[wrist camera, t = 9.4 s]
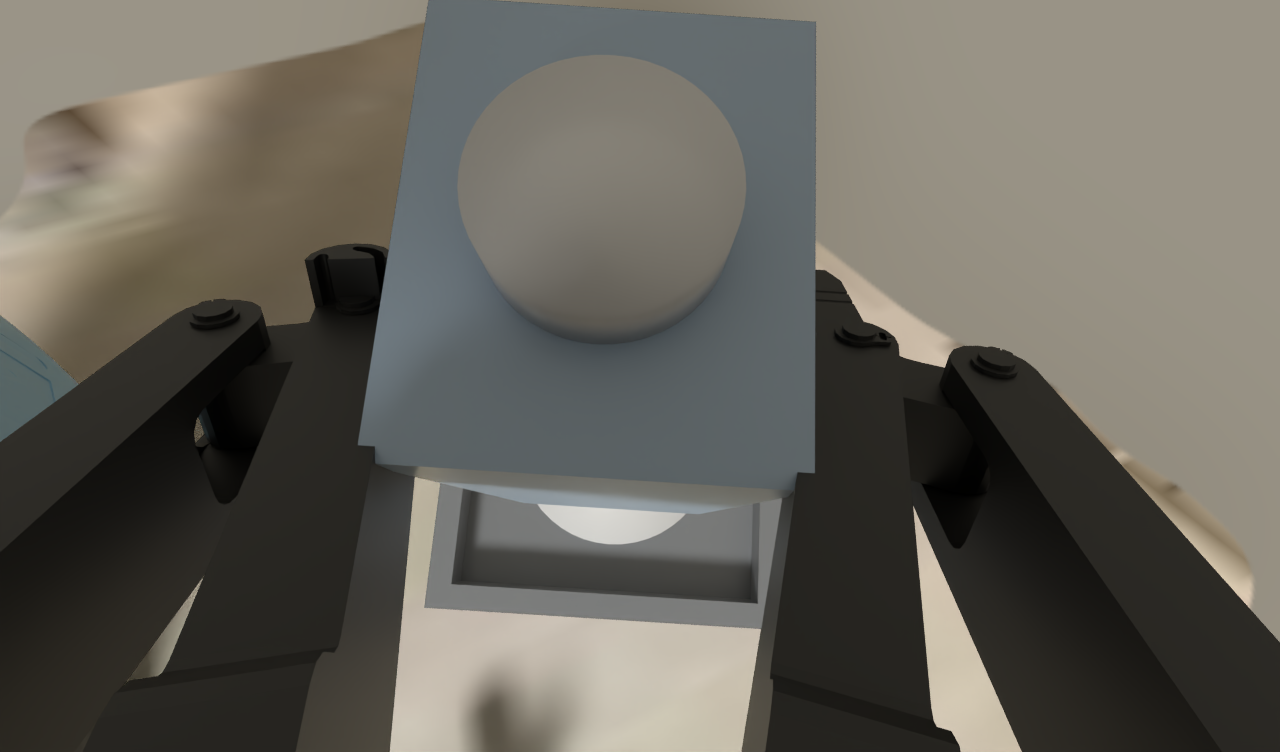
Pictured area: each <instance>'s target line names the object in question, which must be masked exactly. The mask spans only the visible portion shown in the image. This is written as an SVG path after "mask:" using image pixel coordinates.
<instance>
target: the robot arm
mask: <svg viewBox="0 0 1280 752" xmlns="http://www.w3.org/2000/svg"><path fill="white" fill-rule="evenodd" d="M388 252H389V250H387V249H386V248H384V247H380V246H376V245H371V244H346V245H337V246H333V247H329V248H324V249H321V250H319V251H317V252H314V253H312V254H311V255H310V256H309V257H307V258H306V259H305V263H306V268H307V272H308V276H309V281H310V285H311V290H312V294H313V299H314V303H315V310H314V312H313V314H312V317H311V319H310V322H307V323H300V324H290V325H278V326H267V327H266V324H265V320H264V317H263V313H262V310H261V307H260V306H258V305H256V304H254V303H252V302H247V301H241V300H225V299H216V300H213V302H211V300H209V301H205V302H201V303H199V305H196V306H193V307H190V308H186V309H184V310H183V311H181V312H179V313H177V314H175V315H173V316H172V317H170V318H169V319H168V320H166V321H165V322H164V323H162V324H161V325H159V326H158V327H157V328H155V329H154V330H153V331H151V332H150V333H149V334H147V335H146V336H144V337H143V338H142V339H140V340H139V341H138V342H136V343H135V344H133V345H132V346H131V347H129V348H128V349H127V350H125V351H124V352H123V353H121V354H120V355H118V356H117V357H116V358H114V359H113V360H112V361H110V362H109V363H107V364H106V365H105V366H103V367H102V368H101V369H99V370H98V371H97V372H95V373H94V374H92V375H91V376H90V377H88V378H87V379H86V380H84V381H83V382H81V383H80V384H78V383H77V382H76V381H75V380H74V379H73V378H72V377H71V376H70V375H69V374H68V373H67V372H66V371H65V370H64V369H63V368H61V367H60V366H59V365H58V364H57V363H56V362H55V361H54V360H53V359H52V358H51V357H50V356H49V355H48V354H46V353H45V352H44V351H43V350H42V349H41V348H40V347H39V346H37V345H36V344H35V343H34V342H33V341H32V340H30V339H29V338H28V337H27V336H26V335H24V334H23V333H22V332H21V331H19V330H18V329H17V328H16V327H15V326H13V325H12V324H11V323H10V322H8V321H7V320H6V319H4V318H3V317H2V316H1V315H0V752H390V741H391V730H392V719H393V708H394V697H395V686H396V675H397V665H398V654H399V643H400V632H401V621H402V610H403V599H404V588H405V577H406V566H407V555H408V544H409V533H410V522H411V511H412V500H413V489H414V478H415V477H414V476H409V475H405V474H401V473H397V472H393V471H391V470H388V469H386V468H384V467H382V466H379V465H377V464H375V446H363V445H358V440H359V433H360V427H361V421H362V415H363V408H364V402H365V396H366V390H367V383H368V377H369V371H370V364H371V358H372V352H373V346H374V339H375V333H376V327H377V321H378V314H379V308H380V302H381V295H382V289H383V283H384V277H385V270H386V264H387V258H388ZM198 417H199V420H200V423H201V425H202V428H203V431H204V433H205V434H204V435H203V436H202V437H201V438H200V439H199V440H198V441H197V442H196V443H195V438H194V429H195V425H196V420H197V418H198ZM913 506H914V508H915V510H916V512H917V515H918V517H919V519H920V522H921V524H922V526H923V528H924V531H925V533H926V535H927V537H928V540H929V542H930V544H931V547H932V549H933V551H934V553H935V556H936V558H937V560H938V562H939V565H940V567H941V569H942V571H943V574H944V576H945V578H946V581H947V583H948V585H949V587H950V590H951V592H952V594H953V596H954V599H955V601H956V603H957V606H958V608H959V610H960V612H961V615H962V617H963V619H964V621H965V624H966V626H967V628H968V630H969V633H970V635H971V637H972V640H973V642H974V644H975V646H976V649H977V651H978V653H979V655H980V658H981V660H982V662H983V665H984V667H985V669H986V671H987V674H988V676H989V678H990V680H991V683H992V685H993V687H994V689H995V692H996V694H997V696H998V699H999V701H1000V703H1001V705H1002V708H1003V710H1004V712H1005V714H1006V717H1007V719H1008V721H1009V724H1010V726H1011V728H1012V730H1013V733H1014V735H1015V737H1016V739H1017V742H1018V744H1019V746H1020V748H1021V751H1022V752H1280V642H1279V641H1278V640H1277V639H1276V638H1275V637H1274V635H1273V634H1272V633H1271V632H1270V631H1269V630H1268V629H1267V628H1266V626H1264V624H1263V623H1262V622H1261V621H1260V620H1259V619H1258V618H1257V616H1256V615H1255V614H1254V613H1253V612H1252V611H1251V610H1250V609H1249V607H1248V606H1247V605H1246V604H1245V603H1244V602H1243V601H1242V600H1241V598H1240V597H1239V596H1238V595H1237V594H1236V593H1235V592H1234V591H1233V590H1232V588H1231V587H1230V586H1229V585H1228V584H1227V583H1226V582H1225V581H1224V579H1223V578H1222V577H1221V576H1220V575H1219V574H1218V573H1217V572H1216V570H1215V569H1214V568H1213V567H1212V566H1211V565H1210V564H1209V563H1208V562H1207V560H1206V559H1205V558H1204V557H1203V556H1202V555H1201V554H1200V553H1199V551H1198V550H1197V549H1196V548H1195V547H1194V546H1193V545H1192V544H1191V543H1190V541H1189V540H1188V539H1187V538H1186V537H1185V536H1184V535H1183V534H1182V532H1181V531H1180V530H1179V529H1178V528H1177V527H1176V526H1175V525H1174V523H1173V522H1172V521H1171V520H1170V519H1169V518H1168V517H1167V516H1166V515H1165V513H1164V512H1163V511H1162V510H1161V509H1160V508H1159V507H1158V506H1157V504H1156V503H1155V502H1154V501H1153V500H1152V499H1151V498H1150V497H1149V495H1148V494H1147V493H1146V492H1145V491H1144V490H1143V489H1142V488H1141V487H1140V485H1139V484H1138V483H1137V482H1136V481H1135V480H1134V479H1133V478H1132V476H1131V475H1130V474H1129V473H1128V472H1127V471H1126V470H1125V469H1124V468H1123V466H1122V465H1121V464H1120V463H1119V462H1118V461H1117V460H1116V459H1115V457H1114V456H1113V455H1112V454H1111V453H1110V452H1109V451H1108V450H1107V448H1106V447H1105V446H1104V445H1103V444H1102V443H1101V442H1100V441H1099V440H1098V438H1097V437H1096V436H1095V435H1094V434H1093V433H1092V432H1091V431H1090V429H1089V428H1088V427H1087V426H1086V425H1085V424H1084V423H1083V422H1082V420H1081V419H1080V418H1079V417H1078V416H1077V415H1076V414H1075V413H1074V412H1073V410H1072V409H1071V408H1070V407H1069V406H1068V405H1067V404H1066V403H1065V401H1064V400H1063V399H1062V398H1061V397H1060V396H1059V395H1058V394H1057V393H1056V391H1055V390H1054V389H1053V388H1052V387H1051V386H1050V385H1049V384H1048V382H1047V381H1046V380H1045V379H1044V378H1043V377H1042V376H1041V375H1040V373H1039V372H1038V371H1037V370H1036V369H1035V368H1033V367H1032V366H1031V365H1030V364H1028V363H1027V362H1026V361H1024V360H1023V359H1020V358H1018V357H1016V356H1014V355H1013V354H1012V353H1011V352H1008V351H1006V350H1002V351H1001V350H1000V348H995V347H982V346H962V347H959V348H956V349H954V350H953V351H952V352H951V354H950V355H949V358H948V361H947V364H946V366H945V368H943V367H939V366H934V365H930V364H925V363H921V362H917V361H913V360H909V359H906V358H903V357H901V356H899V345H898V343H897V341H896V339H895V337H894V336H893V335H891V334H890V333H889V332H887V331H886V330H884V329H882V328H880V327H878V326H875V325H873V324H870V323H866V322H863V320H862V318H861V316H860V315H859V313H858V311H857V309H856V307H855V306H854V304H852V300H851V298H850V297H849V295H848V294H847V291H846V289H845V288H844V286H843V284H842V282H841V281H840V280H839V279H837V278H836V277H834V276H833V275H831V274H830V273H829V272H827V271H826V270H815V473H803V472H798V473H797V478H796V483H795V488H794V491H793V492H792V493H791V494H790V495H789V496H788V497H786V498H782V503H781V509H780V515H779V521H778V527H777V534H776V540H775V546H774V552H773V559H772V565H771V571H770V577H769V584H768V590H767V596H766V602H765V608H764V615H763V621H762V627H761V633H760V640H759V646H758V652H757V658H756V665H755V671H754V677H753V683H752V690H751V696H750V702H749V708H748V714H747V721H746V727H745V733H744V739H743V746H742V752H960V747H959V744H958V742H957V741H956V739H955V737H954V735H953V733H952V731H949V730H945V729H942V728H938V727H936V725H935V723H934V721H933V715H932V709H931V700H930V689H929V678H928V667H927V656H926V645H925V634H924V623H923V612H922V600H921V589H920V578H919V567H918V556H917V545H916V534H915V523H914V512H913ZM203 576H204V578H203ZM202 578H203V580H202V583H201V585H200V587H199V590H198V592H197V595H196V597H195V599H194V602H193V604H192V607H191V609H190V612H189V614H188V616H187V619H186V621H185V624H184V626H183V628H182V631H181V633H180V636H179V638H178V641H177V643H176V645H175V648H174V650H173V653H172V655H171V657H170V660H169V662H168V663H167V665H166V667H165V669H164V671H163V672H162V673H161V674H160V675H159V676H157V677H150V678H144V679H137V680H130V681H129V682H128V683H126V684H125V682H126V681H127V680H128V678H129V677H130V676H131V674H132V673H133V671H134V670H135V669H136V667H137V666H138V665H139V663H140V662H141V661H142V659H143V658H144V656H145V655H146V654H147V652H148V651H149V650H150V648H151V647H152V646H153V644H154V643H155V641H156V640H157V639H158V637H159V636H160V635H161V633H162V632H163V631H164V629H165V628H166V627H167V625H168V624H169V622H170V621H171V620H172V618H173V617H174V616H175V614H176V613H177V612H178V610H179V609H180V607H181V606H182V605H183V603H184V602H185V601H186V599H187V598H188V597H189V595H190V594H191V593H192V591H193V590H194V588H195V587H196V586H197V584H198V583H199V582H200V580H201V579H202ZM124 684H125V685H124ZM123 685H124V686H123ZM122 686H123V687H122Z"/></svg>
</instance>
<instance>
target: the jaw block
mask: <svg viewBox="0 0 1280 752" xmlns="http://www.w3.org/2000/svg"><path fill="white" fill-rule="evenodd" d="M815 163H816V22H809V21H795V20H780V19H779V20H778V19H765V18H749V17H734V16H720V15H705V14H690V13H675V12H674V13H673V12H660V11H645V10H629V9H615V8H600V7H585V6H570V5H555V4H540V3H525V2H511V1H495V0H429V1H428V7H427V13H426V20H425V26H424V32H423V38H422V45H421V51H420V57H419V63H418V70H417V76H416V82H415V89H414V95H413V101H412V107H411V114H410V120H409V126H408V132H407V139H406V145H405V151H404V157H403V164H402V170H401V176H400V183H399V189H398V195H397V201H396V208H395V214H394V220H393V226H392V233H391V239H390V245H389V252H388V258H387V264H386V270H385V277H384V283H383V289H382V295H381V302H380V308H379V314H378V321H377V327H376V333H375V339H374V346H373V352H372V358H371V364H370V371H369V377H368V383H367V390H366V396H365V402H364V408H363V415H362V421H361V427H360V433H359V440H358V445H363V446H375V464H377V465H379V466H382V467H384V468H386V469H388V470H391V471H393V472H397V473H401V474H405V475H409V476H414V477H418V478H422V479H426V480H430V481H434V482H439V483H443V484H447V485H451V486H455V487H459V488H463V489H468V490H472V491H476V492H480V493H484V494H488V495H493V496H497V497H501V498H505V499H509V500H513V501H517V502H522V503H530V504H546V505H561V506H577V507H592V508H608V509H624V510H639V511H655V512H671V513H686V514H703V513H708V512H713V511H718V510H724V509H729V508H734V507H739V506H744V505H750V504H755V503H760V502H765V501H770V500H775V499H781V498H786V497H788V496H789V495H790V494H791V493H792V492H793V491H794V488H795V483H796V478H797V473H798V472H803V473H815V206H816V204H815V202H816V198H815V197H816V196H815V195H816V193H815V192H816V190H815V185H816V182H815V181H816V177H815V176H816V169H815V168H816V164H815Z"/></svg>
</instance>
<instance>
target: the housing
mask: <svg viewBox="0 0 1280 752" xmlns="http://www.w3.org/2000/svg"><path fill="white" fill-rule="evenodd" d="M781 503H782V498H781V499H775V500H770V501H765V502H760V503H755V504H750V505H744V506H739V507H734V508H729V509H724V510H718V511H713V512H708V513H703V514H686V513H671V512H655V511H639V510H624V509H608V508H592V507H577V506H561V505H546V504H530V503H522V502H517V501H513V500H509V499H505V498H501V497H497V496H493V495H488V494H484V493H480V492H476V491H472V490H468V489H463V488H459V487H455V486H451V485H447V484H443V483H440V490H439V498H438V505H437V513H436V521H435V529H434V536H433V544H432V552H431V560H430V568H429V575H428V583H427V591H426V599H425V606H424V608H438V609H454V610H470V611H486V612H501V613H517V614H533V615H549V616H565V617H581V618H596V619H612V620H628V621H644V622H660V623H675V624H691V625H707V626H723V627H739V628H754V629H761V627H762V621H763V615H764V608H765V602H766V596H767V590H768V584H769V577H770V571H771V565H772V559H773V552H774V546H775V540H776V534H777V527H778V521H779V515H780V509H781Z"/></svg>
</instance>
